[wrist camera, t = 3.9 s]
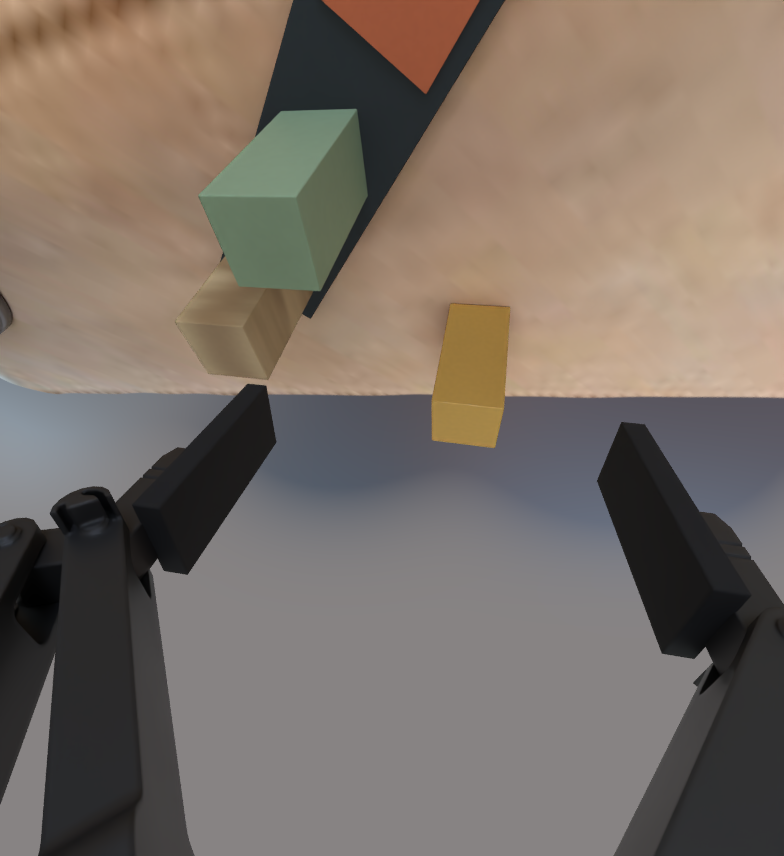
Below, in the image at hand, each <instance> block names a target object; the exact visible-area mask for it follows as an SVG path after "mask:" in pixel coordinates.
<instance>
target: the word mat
mask: <svg viewBox="0 0 784 856" xmlns="http://www.w3.org/2000/svg"><path fill="white" fill-rule="evenodd" d="M504 1H505V0H293V3H292V7H291V11H290V14H289V18H288V21H287V25H286V29H285V32H284V36H283V39H282V43H281V46H280V50H279V54H278V57H277V61H276V64H275V68H274V72H273V75H272V79H271V82H270V86H269V89H268V93H267V97H266V100H265V104H264V107H263V111H262V115H261V118H260V122H259V125H258V129H257V132H256V136H257V135H258V134H259V133H260V132H261V131H262V130H263V129H264V128H265V127H266V126H267V125H268V124H269V123H270V122H271V121H272V120H273V119H274V118H275V117H276V116H277V115H278V114H279V113H280V112H281V111H302V110H335V109H357V112H358V120H359V128H360V136H361V144H362V152H363V160H364V168H365V176H366V184H367V192H368V196H367V198H366V200H365V202H364V204H363V206H362V208H361V210H360V212H359V214H358V216H357V218H356V220H355V222H354V224H353V226H352V228H351V230H350V232H349V234H348V236H347V239H346V241H345V243H344V245H343V247H342V249H341V251H340V253H339V255H338V257H337V259H336V261H335V263H334V265H333V267H332V269H331V271H330V273H329V275H328V277H327V279H326V281H325V283H324V285H323V287H322V289H321V291H313V293H312V295H311V297H310V299H309V301H308V303H307V305H306V307H305V309H304V311H303V313H302V314H303V315H305V316H307V317H309V318H311V317H312V316H313V314H314V312H315V311H316V309H317V307H318V306H319V304H320V302H321V301H322V299H323V297H324V296H325V294H326V293H327V291H328V289H329V288H330V286H331V284H332V283H333V281H334V279H335V278H336V276H337V275H338V273H339V271H340V270H341V268H342V266H343V265H344V263H345V261H346V260H347V258H348V256H349V255H350V253H351V252H352V250H353V248H354V247H355V245H356V243H357V242H358V240H359V238H360V237H361V235H362V234H363V232H364V230H365V229H366V227H367V225H368V224H369V222H370V220H371V219H372V217H373V215H374V214H375V212H376V211H377V209H378V207H379V206H380V204H381V202H382V201H383V199H384V197H385V196H386V194H387V193H388V191H389V189H390V188H391V186H392V184H393V183H394V181H395V179H396V178H397V176H398V174H399V173H400V171H401V170H402V168H403V166H404V165H405V163H406V161H407V160H408V158H409V156H410V155H411V153H412V152H413V150H414V148H415V147H416V145H417V143H418V142H419V140H420V138H421V137H422V135H423V133H424V132H425V130H426V129H427V127H428V125H429V124H430V122H431V120H432V119H433V117H434V115H435V114H436V112H437V111H438V109H439V107H440V106H441V104H442V102H443V101H444V99H445V97H446V96H447V94H448V92H449V91H450V89H451V88H452V86H453V84H454V83H455V81H456V79H457V78H458V76H459V74H460V73H461V71H462V70H463V68H464V66H465V65H466V63H467V61H468V60H469V58H470V56H471V55H472V53H473V51H474V50H475V48H476V47H477V45H478V43H479V42H480V40H481V38H482V37H483V35H484V33H485V32H486V30H487V29H488V27H489V25H490V24H491V22H492V20H493V19H494V17H495V15H496V14H497V12H498V10H499V9H500V7H501V6H502V4H503V2H504ZM256 136H255V137H256ZM224 257H225V255H224V252H223V254H222V258H221V261H222V259H223V258H224ZM221 261H220V262H221Z"/></svg>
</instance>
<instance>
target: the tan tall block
mask: <svg viewBox="0 0 784 856" xmlns="http://www.w3.org/2000/svg"><path fill="white" fill-rule="evenodd" d="M312 293H313V291H308V290H290V289H273V288H256V287H240V286H238V284H237V281H236V279H235V277H234V275H233V273H232V270H231V268H230V266H229V264H228V261H227V259H226V257H224V258H223V259H222V261H221V262H220V263H219V265H218V266H217V267H216V269H215V270H214V271H213V272H212V274H211V275H210V276H209V278H208V279H207V280H206V282H205V283H204V284H203V285H202V287H201V288H200V289H199V291H198V292H197V293H196V294H195V296H194V297H193V298H192V300H191V301H190V302H189V304H188V305H187V306H186V307H185V309H184V310H183V311H182V313H181V314H180V315H179V317H178V318H177V319H176V320H175V323H176V325H177V326H178V328H179V329H180V331H181V332H182V334H183V336H184V337H185V339H186V340H187V342H188V343H189V345H190V346H191V348H192V349H193V351H194V352H195V354H196V356H197V357H198V359H199V360H200V362H201V363H202V365H203V366H204V368H205V369H206V371H207V372H208V374H216V375H226V376H235V377H245V378H255V379H264V380H268V379H269V377H270V375H271V373H272V371H273V369H274V368H275V366H276V364H277V362H278V360H279V358H280V356H281V354H282V352H283V350H284V348H285V346H286V344H287V342H288V340H289V338H290V336H291V334H292V332H293V330H294V328H295V326H296V324H297V322H298V320H299V318H300V317H301V315H302V313H303V311H304V309H305V307H306V305H307V303H308V301H309V299H310V297H311V295H312Z"/></svg>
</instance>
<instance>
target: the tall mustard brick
mask: <svg viewBox="0 0 784 856" xmlns="http://www.w3.org/2000/svg"><path fill="white" fill-rule="evenodd" d="M509 318H510V307H499V306H482V305H465V304H450V309H449V314H448V319H447V324H446V329H445V335H444V340H443V345H442V350H441V355H440V360H439V366H438V371H437V376H436V381H435V386H434V391H433V397H432V440H435V441H442V442H451V443H458V444H467V445H474V446H482V447H490V448H495V446H496V441H497V437H498V432H499V428H500V423H501V419H502V415H503V410H504V398H505V383H506V367H507V351H508V334H509Z"/></svg>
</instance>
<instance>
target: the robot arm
mask: <svg viewBox="0 0 784 856" xmlns="http://www.w3.org/2000/svg"><path fill="white" fill-rule="evenodd" d="M11 322H12V316H11V312H10V310H9V308H8V306H7V304H6V303H5V301H4V300H3V298H2V297H1V296H0V334H1V333H2V332H3V331H4V330H6V329H7V328H8V327H9V326H10V324H11ZM275 444H276V438H275V432H274V427H273V421H272V415H271V410H270V404H269V399H268V393H267V387H266V386H264V385H255V384H247V385H246V386H245V387H244V388H243V389H242V390H241V391H240V392H239V393H238V394H237V396H236V397H235V398H234V399H233V400H232V401H231V402H230V403H229V404H228V405H227V406H226V407H225V408H224V409H223V410H222V411H221V412H220V413H219V414H218V416H216V418H214V420H213V421H212V422H211V423H210V424H209V425H208V426H207V427H206V428H205V429H204V430H203V431H202V432H201V433H200V434H199V435H198V436H197V437H196V438H195V439H194V440H193V442H191V444H190V445H189V446H188V447H187V448H176V449H174V450H172V451H170V452H169V453H167V454H165V455H163V456H162V457H161V458H160V459H159V460H158V461H157V462H156V463H155V464H154V465H153V466H152V469H149V470H148V471H147V472H146V473H145V474H144V475H143V478H140V479H139V480H138V481H137V482H136V483H135V484H134V485H133V486H132V487H131V488H130V489H129V490H128V491H127V492H126V493H125V494H124V495H123V496H122V497H121V498H120V499H119V500H118V501H117V502H116V503H115V501H114V499H113V497H112V495H111V494H110V492H109V490H108V489H106V488H103V487H87V488H82V489H79V490H77V491H74V492H72V493H70V494H68V495H66V496H65V497H63V498H61V499H60V500H59V501H58V502H57V503H56V504H55V505H54V506H53V507H52V510H51V512H50V515H51V516H52V518H53V519H54V521H55V522H56V524H57V525H58V527H59V528H56V529H47V530H40V528H39V527H38V525H37V524H36V523H35V521H34V520H32V519H29V518H16V519H13V520H9V521H5V522H3V523H0V804H1V801H2V798H3V795H4V793H5V790H6V787H7V784H8V782H9V779H10V776H11V773H12V771H13V768H14V765H15V762H16V759H17V757H18V754H19V751H20V749H21V746H22V743H23V740H24V737H25V735H26V732H27V729H28V726H29V723H30V721H31V718H32V715H33V713H34V710H35V707H36V704H37V701H38V698H39V696H40V693H41V690H42V688H43V685H44V682H45V679H46V676H47V674H48V671H49V668H50V666H51V663H52V660H53V657H54V654H55V664H54V678H53V691H52V703H51V717H50V729H49V743H48V755H47V769H46V782H45V795H44V808H43V821H42V834H41V844H40V851H39V855H38V856H194V853H193V850H192V848H191V845H190V842H189V838H188V834H187V828H186V821H185V814H184V806H183V799H182V791H181V784H180V776H179V769H178V761H177V754H176V746H175V739H174V732H173V724H172V716H171V709H170V701H169V694H168V687H167V679H166V671H165V664H164V656H163V649H162V641H161V634H160V627H159V619H158V612H157V604H156V596H155V589H154V581H153V575H152V573H151V571H150V568H151V566H152V565H153V564H154V562H155V561H156V560H157V558H158V560H159V562H160V564H161V566H162V568H163V570H164V571H168V572H175V573H180V574H186V575H188V573H189V572H190V570H191V569H192V567H193V566H194V564H195V563H196V561H197V560H198V558H199V557H200V555H201V554H202V552H203V551H204V550H205V548H206V546H207V545H208V543H209V542H210V541H211V539H212V537H213V536H214V535H215V533H216V532H217V530H218V529H219V527H220V525H221V524H222V523H223V521H224V520H225V518H226V517H227V515H228V514H229V512H230V511H231V509H232V508H233V506H234V505H235V503H236V502H237V500H238V498H239V497H240V496H241V494H242V493H243V491H244V490H245V488H246V487H247V485H248V484H249V482H250V481H251V479H252V478H253V476H254V475H255V473H256V472H257V470H258V469H259V467H260V466H261V464H262V463H263V461H264V460H265V458H266V457H267V455H268V454H269V453H270V451H271V450H272V448H273V446H274V445H275ZM597 482H598V485H599V487H600V490H601V493H602V495H603V498H604V501H605V503H606V506H607V508H608V511H609V514H610V517H611V519H612V522H613V525H614V527H615V530H616V532H617V535H618V538H619V541H620V543H621V546H622V548H623V551H624V554H625V556H626V559H627V562H628V564H629V567H630V570H631V572H632V575H633V578H634V580H635V583H636V586H637V588H638V591H639V594H640V596H641V599H642V602H643V604H644V607H645V610H646V612H647V615H648V617H649V620H650V623H651V626H652V628H653V631H654V634H655V636H656V639H657V642H658V644H659V647H660V650H661V652H662V654H668V655H674V656H680V657H686V658H692V659H695V658H696V656H697V655H698V654H699V653H700V652H701V651H702V650H703V649H704V648H705V647H706V648H707V650H708V652H709V655H710V657H711V659H712V661H713V663H712V664H711V665H710V666H709V667H708V668H707V669H706V670H705V671H704V672H703V673H702V674H701V675H700V676H699V677H698V678H697V679H696V680H695V682H694V684H695V685H696V686H698V688H697V690H696V692H695V694H694V696H693V698H692V700H691V702H690V704H689V706H688V708H687V710H686V712H685V714H684V716H683V718H682V720H681V722H680V724H679V726H678V728H677V730H676V732H675V734H674V736H673V738H672V740H671V742H670V744H669V746H668V748H667V750H666V752H665V754H664V756H663V758H662V760H661V762H660V764H659V766H658V768H657V770H656V772H655V774H654V776H653V778H652V780H651V782H650V784H649V786H648V788H647V790H646V792H645V794H644V796H643V798H642V800H641V802H640V804H639V806H638V808H637V810H636V812H635V814H634V816H633V818H632V820H631V822H630V824H629V826H628V828H627V830H626V832H625V834H624V836H623V838H622V840H621V843H620V844H619V846H618V849H617V850H616V852H615V854H614V856H784V604H783V603H782V601H781V600H780V598H779V597H778V596H777V594H776V592H775V591H774V590H773V588H772V587H771V585H770V584H769V582H768V581H767V579H766V578H765V576H764V575H763V573H762V572H761V571H760V569H759V568H758V566H757V565H756V563H755V562H754V560H751V556H750V555H749V553H748V552H747V550H746V549H745V547H742V543H741V541H740V540H739V538H738V537H737V535H736V534H735V533H734V531H733V530H732V528H731V527H729V526H728V525H727V524H726V523H725V522H724V521H722V520H721V519H720V518H719V517H718V516H717V515H715V514H713V513H705V512H699V510H698V509H697V507H696V506H695V504H694V502H693V501H692V499H691V498H690V496H689V494H688V493H687V491H686V490H685V488H684V487H683V485H682V483H681V482H680V480H679V478H678V477H677V475H676V474H675V472H674V470H673V469H672V467H671V466H670V464H669V462H668V461H667V459H666V458H665V456H664V455H663V453H662V451H661V450H660V448H659V446H658V445H657V443H656V442H655V440H654V439H653V437H652V435H651V434H650V432H649V431H648V429H647V427H646V426H645V425H644V424H635V423H624V422H621V424H620V427H619V429H618V432H617V434H616V436H615V439H614V441H613V444H612V446H611V448H610V451H609V453H608V456H607V458H606V461H605V463H604V465H603V468H602V470H601V473H600V475H599V477H598V480H597Z"/></svg>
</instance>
